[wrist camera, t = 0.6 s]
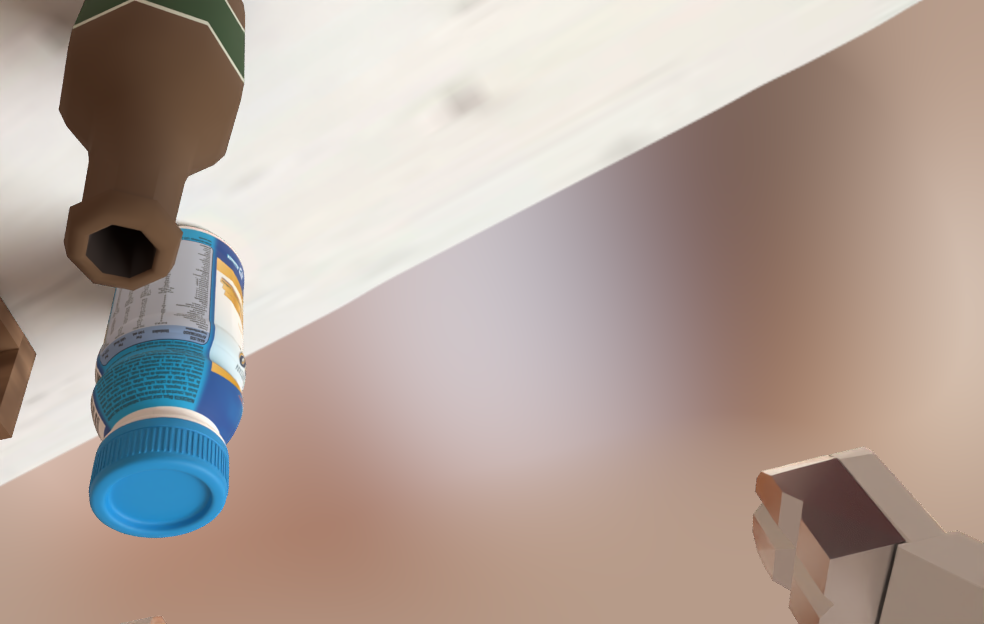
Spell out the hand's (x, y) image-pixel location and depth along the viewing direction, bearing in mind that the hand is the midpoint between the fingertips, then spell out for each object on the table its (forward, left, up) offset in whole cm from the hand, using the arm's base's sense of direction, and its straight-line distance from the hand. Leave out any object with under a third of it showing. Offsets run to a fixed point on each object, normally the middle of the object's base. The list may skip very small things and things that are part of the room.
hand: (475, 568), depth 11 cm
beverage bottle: (+24, -14, -42) cm, 50 cm away
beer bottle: (+6, -9, -42) cm, 43 cm away
